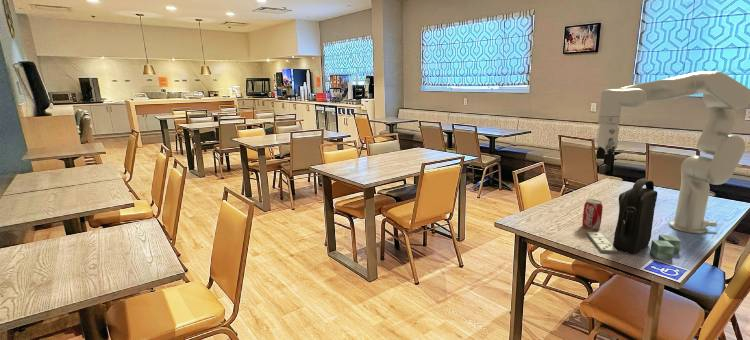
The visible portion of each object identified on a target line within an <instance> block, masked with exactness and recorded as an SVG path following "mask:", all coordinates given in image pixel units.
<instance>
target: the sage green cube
mask: <svg viewBox="0 0 750 340" xmlns="http://www.w3.org/2000/svg"><path fill="white" fill-rule="evenodd" d="M649 252H650V254H651V255H652V256H653V257H654V258H656V259H663V260H673V257H674V254H675V253H674V246H673V245H672V244H670V243H669V242H668V241H658V239H657V240H656V239H652V240H651V244H650V250H649Z"/></svg>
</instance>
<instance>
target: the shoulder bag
mask: <svg viewBox="0 0 750 340" xmlns="http://www.w3.org/2000/svg"><path fill="white" fill-rule="evenodd" d="M654 184H655V183H654V181H652V180H649V179H646V178H644V177H643V178H638V179H637V180H636V181H635V182H634V183H633V185H632V188H630V189H628V190H626V191H623V192H622V193H619V195H618V206H619V207H618V218H617V222H616V225H615V226H616V227H615V230H614V235H613V237H614V238H613V243H612V245H613V246H614V247H615V248H616V250H617V251H618V252H623V253H625V254H629V255H633V256H634V255H637V254H638V253H640V252H641V251H643V250H644V249H645V248H648V247H649V244H650V241H651V238H652V231H653V230H652V229H653V224H654V223H653V222H654V217H655V208H656V205H657V204H656V203H657V200H658V199H657V197H658V191H656V190H655V185H654ZM644 186H645V187H644Z"/></svg>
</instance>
